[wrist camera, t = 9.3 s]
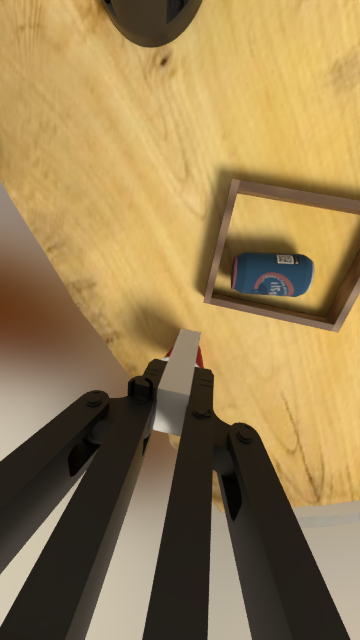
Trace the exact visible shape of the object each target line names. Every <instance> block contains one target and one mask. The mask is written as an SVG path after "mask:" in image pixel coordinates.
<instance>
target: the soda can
mask: <svg viewBox="0 0 360 640" xmlns="http://www.w3.org/2000/svg"><path fill="white" fill-rule="evenodd" d="M313 278H314V263H313V261H312V260H311V259H309V258H308V257H306V256H305V255H301V254H275V253H250V252H245V253H243V254H241V255H238V256H234V260H233V266H232V275H231V289H235V290H236V291H238V292H240V293H246V294H261V295H275V296H289V297H297V296H300V295H302V294H304V293H306V292H307V291H308V290H309V289H310V287H311V285H312V282H313Z"/></svg>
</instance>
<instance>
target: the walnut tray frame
mask: <svg viewBox="0 0 360 640" xmlns="http://www.w3.org/2000/svg"><path fill="white" fill-rule="evenodd" d="M237 193H240V194H245V195H251V196H256V197H262V198H268V199H273V200H279V201H285V202H290V203H296V204H301V205H307V206H313V207H318V208H324V209H330V210H335V211H341V212H347V213H352V214H358V215H360V201H359V200H353V199H348V198H342V197H336V196H330V195H324V194H318V193H313V192H307V191H301V190H295V189H289V188H284V187H278V186H272V185H266V184H260V183H255V182H249V181H243V180H237V179H232V182H231V186H230V190H229V195H228V199H227V203H226V207H225V212H224V216H223V220H222V224H221V229H220V233H219V237H218V242H217V246H216V250H215V254H214V259H213V263H212V267H211V271H210V276H209V280H208V284H207V289H206V293H205V297H204V302H203V303H208V304H212V305H217V306H221V307H226V308H230V309H235V310H239V311H244V312H248V313H253V314H257V315H262V316H266V317H271V318H275V319H279V320H284V321H288V322H293V323H297V324H302V325H306V326H311V327H315V328H320V329H324V330H329V331H333V332H339V330H340V329H341V327H342V325H343V323H344V321H345V319H346V317H347V316H348V314H349V312H350V310H351V308H352V306H353V305H354V303H355V301H356V299H357V297H358V295H359V293H360V250H359V252H358V254H357V256H356V258H355V260H354V262H353V264H352V266H351V268H350V270H349V272H348V274H347V276H346V278H345V280H344V282H343V284H342V286H341V288H340V290H339V292H338V294H337V296H336V298H335V300H334V302H333V304H332V306H331V308H330V310H329V312H328V314H327V316H326V318H324V317H319V316H315V315H310V314H306V313H301V312H297V311H292V310H287V309H283V308H278V307H274V306H269V305H265V304H260V303H255V302H251V301H246V300H242V299H237V298H233V297H228V296H224V295H219V294H214V293H212V292H213V288H214V284H215V280H216V276H217V272H218V268H219V264H220V260H221V256H222V252H223V248H224V244H225V240H226V235H227V231H228V227H229V223H230V219H231V215H232V211H233V207H234V203H235V199H236V195H237Z"/></svg>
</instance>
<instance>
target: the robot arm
mask: <svg viewBox="0 0 360 640" xmlns="http://www.w3.org/2000/svg"><path fill="white" fill-rule="evenodd" d="M102 2H103V4H104V6H105V8H106V10H107V12H108V14H109V16H110V18H111V19H112V21H113V23H114V24H115V26H116V27H117V29H118V30H119V31H120V32H121V33H122V34H123V35H124V36H125V37H126V38H127V39H128V40H130V41H131V42H133V43H135V44H137V45H139V46H143V47H159V46H163V45H165V44H167V43H169V42H171V41H173V40H174V39H176V38H177V37H178V36H179V35H180V34H181V33H182V32H183V31H184V30H185V29H186V28H187V27H188V26H189V24H190V23H191V21H192V20H193V18H194V17H195V15H196V13H197V11H198V9H199V7H200V5H201V3H202V0H102ZM200 335H201V332H196V331H191V330H186V329H181V330H180V332H179V335H178V337H177V340H176V342H175V345H174V348H173V350H172V353H171V355H170V358H169V360H168V361H164V360H159V359H154V360H152V361H151V362H149V364H148V366H147V368H146V370H145V372H144V374H143V375H142V376H136V377H134V378H132V379H130V381H129V382H128V396H126V397H123V398H109V396H108V394H107V393H105V392H104V391H100V390H94V391H90V392H87V393H86V394H84V395H82V396H81V397H80V398H79V399H77V400H76V401H75V402H74V403H72V404H71V405H70V406H69V407H67V408H66V409H65V410H64V411H62V412H61V413H60V414H59V415H58V416H56V417H55V418H54V419H52V420H51V421H50V422H49V423H48V424H46V425H45V426H44V427H43V428H41V429H40V430H39V431H38V432H36V433H35V434H34V435H33V436H31V437H30V438H29V439H28V440H27V441H25V442H24V443H23V444H21V445H20V446H19V447H18V448H17V449H15V450H14V451H13V452H11V453H10V454H9V455H8V456H7V457H5V458H4V459H3V460H2V461H0V574H1V573H2V571H3V570H4V569H5V568H6V567H7V565H8V564H9V563H10V562H11V561H12V559H13V558H14V557H15V556H16V555H17V553H18V552H19V551H20V550H21V549H22V547H23V546H24V545H25V544H26V542H27V541H28V540H29V539H30V538H31V536H32V535H33V534H34V533H35V532H36V530H37V529H38V528H39V527H40V525H41V524H42V523H43V522H44V521H45V519H46V518H47V517H48V516H49V515H50V513H51V512H52V511H53V510H54V508H55V507H56V506H57V505H58V504H59V502H60V501H61V500H62V499H63V498H64V496H65V495H66V494H67V493H68V491H69V490H70V489H71V488H72V487H73V486H74V484H75V483H76V482H77V481H78V479H79V478H80V477H81V476H82V475H83V473H84V472H85V471H86V472H85V474H84V476H83V478H82V479H81V482H80V483H79V485H78V487H77V489H76V490H75V492H74V494H73V496H72V498H71V499H70V501H69V503H68V505H67V507H66V509H65V510H64V512H63V514H62V516H61V518H60V520H59V521H58V523H57V525H56V527H55V529H54V530H53V532H52V534H51V536H50V538H49V540H48V541H47V543H46V545H45V547H44V549H43V550H42V553H41V554H40V556H39V558H38V560H37V561H36V563H35V565H34V567H33V569H32V570H31V572H30V574H29V576H28V578H27V580H26V581H25V583H24V585H23V587H22V589H21V591H20V592H19V594H18V596H17V598H16V600H15V601H14V603H13V605H12V607H11V609H10V610H9V612H8V614H7V616H6V618H5V620H4V621H3V623H2V625H1V627H0V640H85V637H86V634H87V631H88V628H89V625H90V622H91V619H92V616H93V613H94V610H95V607H96V604H97V601H98V598H99V594H100V592H101V589H102V585H103V582H104V579H105V576H106V573H107V570H108V567H109V564H110V561H111V558H112V555H113V552H114V549H115V545H116V543H117V540H118V536H119V533H120V530H121V527H122V524H123V521H124V518H125V515H126V512H127V509H128V506H129V503H130V500H131V497H132V494H133V490H134V487H135V484H136V481H137V478H138V475H139V472H140V469H141V466H142V463H143V460H144V457H145V454H146V451H147V448H148V445H149V442H150V436H151V431H152V428H153V429H154V430H157V431H161V432H165V433H169V434H173V435H177V436H181V438H180V443H179V449H178V454H177V460H176V464H175V470H174V476H173V480H172V486H171V491H170V496H169V501H168V507H167V512H166V517H165V522H164V528H163V533H162V538H161V544H160V549H159V554H158V559H157V565H156V570H155V575H154V580H153V586H152V591H151V596H150V602H149V607H148V612H147V617H146V623H145V628H144V633H143V638H142V640H207V637H208V604H209V571H210V539H211V538H210V537H211V506H212V505H211V503H212V474H213V470H215V471H216V472H217V475H218V480H219V485H220V490H221V494H222V499H223V504H224V509H225V513H226V518H227V522H228V528H229V532H230V537H231V542H232V547H233V551H234V556H235V561H236V566H237V570H238V575H239V580H240V584H241V589H242V594H243V598H244V604H245V608H246V613H247V618H248V622H249V627H250V632H251V637H252V640H350V638H349V635H348V633H347V631H346V628H345V626H344V624H343V622H342V620H341V617H340V615H339V613H338V611H337V608H336V606H335V604H334V602H333V599H332V597H331V595H330V593H329V591H328V588H327V586H326V584H325V581H324V579H323V577H322V575H321V573H320V570H319V568H318V566H317V564H316V561H315V559H314V557H313V555H312V552H311V550H310V548H309V546H308V543H307V541H306V539H305V537H304V534H303V532H302V530H301V528H300V525H299V523H298V521H297V519H296V516H295V514H294V512H293V510H292V507H291V505H290V503H289V501H288V499H287V496H286V494H285V492H284V490H283V487H282V485H281V483H280V481H279V478H278V476H277V474H276V472H275V469H274V467H273V465H272V463H271V460H270V458H269V456H268V454H267V451H266V449H265V447H264V445H263V443H262V440H261V438H260V436H259V434H258V433H257V431H256V430H255V429H254V428H252V427H251V426H249V425H247V424H245V423H240V422H239V423H234V424H233V425H229V424H227V423H225V422H223V421H222V420H220V419H219V418H218V417H217V416H216V414H215V413H214V411H213V386H214V375H213V373H212V371H211V370H209V369H204V368H200V367H195V363H196V357H197V351H198V346H199V340H200Z"/></svg>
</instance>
